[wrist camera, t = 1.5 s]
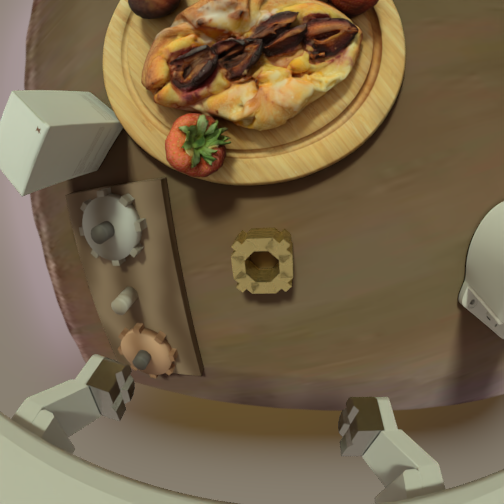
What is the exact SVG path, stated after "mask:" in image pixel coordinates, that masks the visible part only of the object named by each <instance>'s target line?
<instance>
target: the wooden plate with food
mask: <svg viewBox="0 0 504 504" xmlns="http://www.w3.org/2000/svg"><path fill="white" fill-rule="evenodd" d="M405 65H406V44H405V36H404V31H403V27H402V23H401V19H400V16H399V13H398V11H397V9H396V7H395V5H394V3H393V1H392V0H120V2H119V4H118V6H117V8H116V10H115V12H114V14H113V16H112V19H111V21H110V24H109V26H108V29H107V33H106V36H105V41H104V48H103V76H104V84H105V88H106V92H107V95H108V98H109V101H110V104H111V107H112V109H113V111H114V113H115V115H116V117H117V119H118V120H119V122H120V123H121V125H122V127H123V128H124V129H125V131H126V132H127V133H128V134H129V135H130V137H131V138H132V139H133V140H134V141H135V142H136V143H137V144H138V145H139V146H140V147H141V148H142V149H143V150H145V151H146V152H147V153H148V154H149V155H151V156H152V157H154V158H155V159H157V160H158V161H160V162H161V163H163V164H164V165H166V166H168V167H170V168H171V169H174V170H176V171H179V172H181V173H183V174H186V175H188V176H191V177H194V178H198V179H202V180H205V181H209V182H213V183H220V184H226V185H237V186H253V185H269V184H275V183H281V182H288V181H292V180H295V179H299V178H302V177H306V176H308V175H310V174H313V173H315V172H318V171H320V170H323V169H325V168H327V167H329V166H331V165H333V164H335V163H337V162H338V161H340V160H342V159H344V158H345V157H347V156H348V155H350V154H351V153H352V152H354V151H355V150H356V149H358V148H359V147H360V146H362V145H363V144H364V143H365V142H366V141H367V140H368V139H369V138H370V137H371V136H372V135H373V134H374V133H375V131H376V130H377V129H378V127H379V126H380V125H381V124H382V122H383V121H384V120H385V118H386V116H387V115H388V113H389V111H390V110H391V108H392V106H393V105H394V103H395V100H396V98H397V96H398V94H399V91H400V88H401V85H402V82H403V78H404V72H405Z"/></svg>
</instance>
